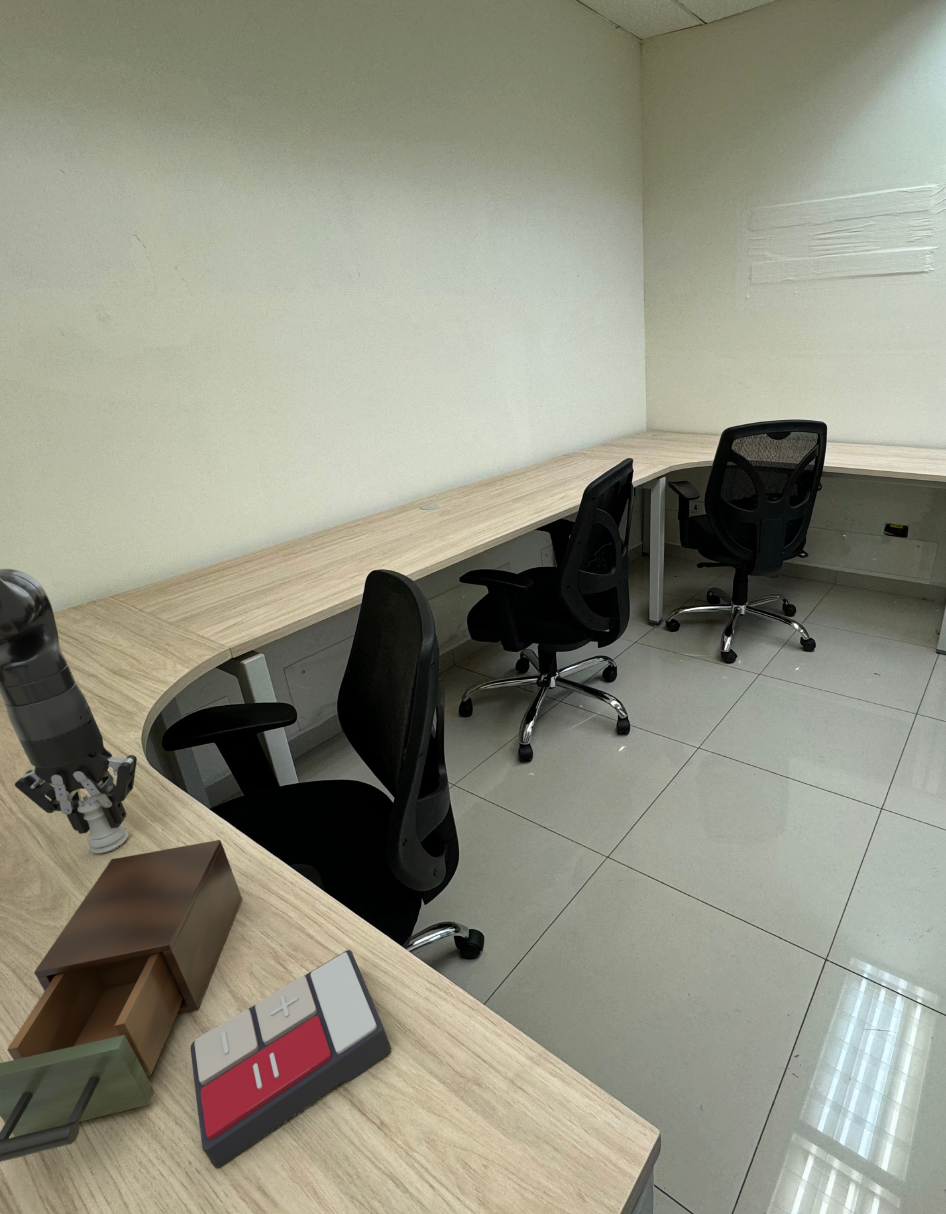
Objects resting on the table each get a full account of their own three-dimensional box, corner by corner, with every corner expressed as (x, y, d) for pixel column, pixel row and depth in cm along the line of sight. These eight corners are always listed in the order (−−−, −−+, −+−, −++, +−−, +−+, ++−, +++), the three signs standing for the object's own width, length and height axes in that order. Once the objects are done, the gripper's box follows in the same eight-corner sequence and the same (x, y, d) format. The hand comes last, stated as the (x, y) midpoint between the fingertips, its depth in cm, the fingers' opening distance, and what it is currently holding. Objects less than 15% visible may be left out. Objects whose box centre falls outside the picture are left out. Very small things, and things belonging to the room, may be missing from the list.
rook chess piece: (135, 839, 88) (115, 794, 85) (98, 860, 85) (75, 814, 82) (122, 828, 91) (102, 784, 88) (86, 847, 87) (63, 802, 84)
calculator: (186, 1038, 58) (348, 942, 66) (202, 1065, 60) (358, 969, 68) (198, 1147, 50) (382, 1023, 58) (217, 1175, 52) (393, 1051, 59)
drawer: (121, 1169, 51) (86, 1112, 48) (-25, 1208, 49) (-71, 1151, 46) (204, 969, 68) (182, 917, 65) (97, 992, 66) (69, 940, 63)
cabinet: (198, 1010, 64) (168, 944, 61) (72, 1038, 62) (33, 972, 58) (242, 898, 78) (220, 839, 74) (139, 919, 75) (111, 858, 72)
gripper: (-30, 747, 75) (28, 856, 82) (101, 728, 78) (147, 835, 84) (10, 715, 82) (61, 818, 89) (129, 698, 85) (170, 800, 91)
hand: (102, 826), depth 87 cm, fingers closed on rook chess piece, 3 cm apart
